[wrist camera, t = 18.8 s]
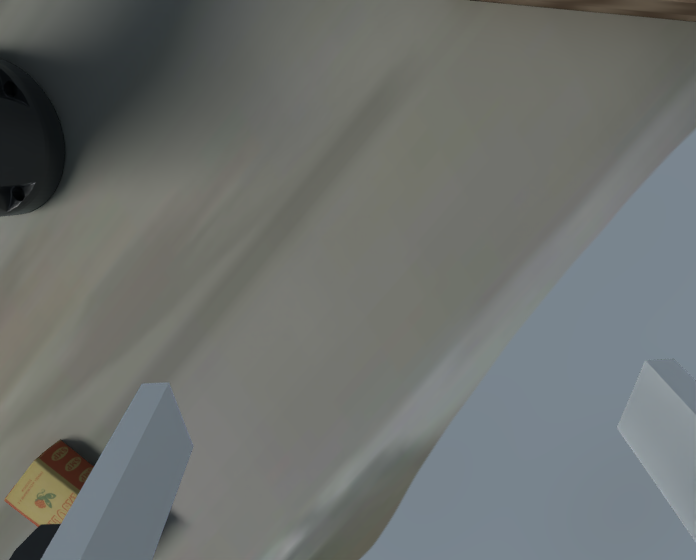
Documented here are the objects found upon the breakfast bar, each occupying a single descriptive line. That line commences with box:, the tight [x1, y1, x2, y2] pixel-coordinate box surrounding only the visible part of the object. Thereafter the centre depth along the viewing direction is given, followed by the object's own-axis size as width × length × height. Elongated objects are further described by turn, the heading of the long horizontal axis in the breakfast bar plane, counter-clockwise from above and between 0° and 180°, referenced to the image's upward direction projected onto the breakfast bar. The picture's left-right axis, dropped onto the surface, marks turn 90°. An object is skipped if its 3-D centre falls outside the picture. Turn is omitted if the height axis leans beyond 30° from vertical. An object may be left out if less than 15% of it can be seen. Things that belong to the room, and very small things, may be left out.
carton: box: [4, 439, 94, 527], centre depth 50 cm, size 8×16×4 cm, turn 49°
